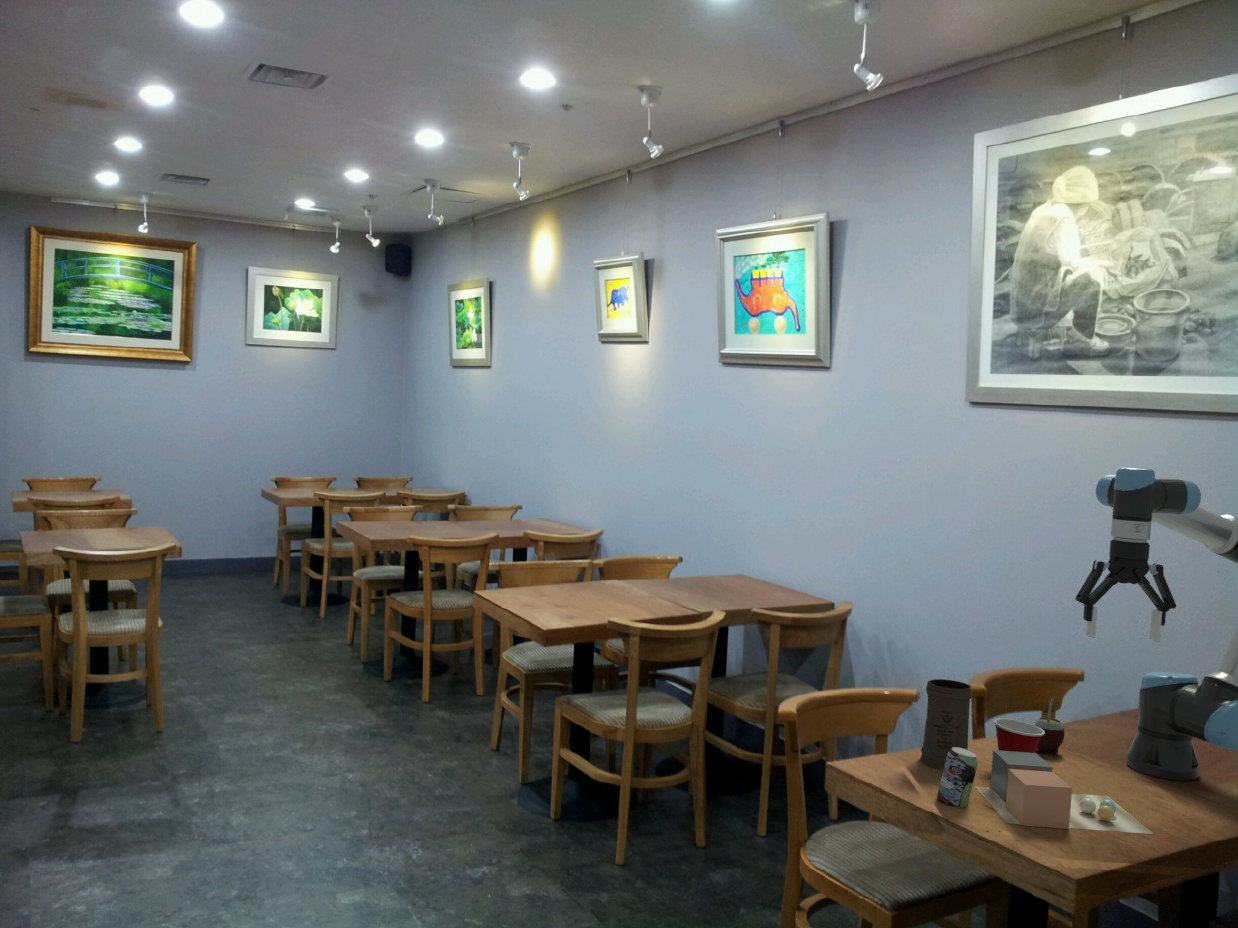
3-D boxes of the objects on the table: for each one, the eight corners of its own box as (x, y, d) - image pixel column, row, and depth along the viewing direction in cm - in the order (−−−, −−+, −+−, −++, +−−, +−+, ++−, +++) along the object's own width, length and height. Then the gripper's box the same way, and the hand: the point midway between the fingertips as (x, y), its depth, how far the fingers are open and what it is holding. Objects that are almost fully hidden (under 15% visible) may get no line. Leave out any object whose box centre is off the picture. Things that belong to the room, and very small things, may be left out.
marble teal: (1111, 812, 203) (1112, 797, 203) (1118, 817, 200) (1119, 803, 200) (1096, 810, 203) (1097, 796, 203) (1103, 816, 200) (1104, 801, 200)
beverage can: (932, 800, 207) (937, 743, 206) (968, 802, 207) (972, 745, 206) (941, 811, 201) (945, 753, 200) (978, 814, 200) (982, 755, 200)
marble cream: (1091, 810, 203) (1092, 796, 203) (1098, 816, 200) (1099, 801, 200) (1076, 809, 203) (1077, 795, 203) (1082, 815, 200) (1084, 800, 200)
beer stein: (972, 779, 221) (978, 689, 222) (922, 773, 223) (928, 684, 224) (961, 762, 236) (966, 677, 237) (914, 756, 238) (919, 672, 239)
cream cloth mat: (1106, 801, 212) (1107, 795, 212) (1153, 839, 192) (1154, 833, 192) (974, 791, 213) (974, 786, 213) (1007, 829, 193) (1007, 823, 193)
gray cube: (1032, 789, 213) (1035, 752, 213) (1049, 805, 204) (1052, 767, 204) (990, 786, 214) (993, 749, 213) (1005, 802, 205) (1008, 763, 204)
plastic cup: (1046, 788, 219) (1050, 734, 218) (994, 781, 221) (998, 728, 220) (1035, 772, 229) (1039, 720, 229) (986, 766, 231) (990, 715, 231)
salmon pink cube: (1050, 810, 201) (1053, 771, 201) (1068, 828, 192) (1072, 787, 192) (1005, 807, 202) (1008, 768, 202) (1021, 825, 193) (1024, 784, 193)
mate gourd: (1047, 746, 249) (1052, 687, 249) (1072, 757, 242) (1076, 696, 241) (1024, 748, 247) (1028, 688, 246) (1048, 759, 239) (1052, 697, 239)
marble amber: (1109, 818, 199) (1110, 803, 199) (1116, 824, 196) (1117, 809, 196) (1094, 817, 199) (1095, 802, 199) (1101, 823, 196) (1102, 808, 196)
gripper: (1078, 538, 210) (1071, 638, 211) (1199, 545, 209) (1191, 645, 210) (1063, 534, 217) (1056, 631, 218) (1180, 541, 217) (1172, 638, 217)
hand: (1122, 638), depth 214 cm, fingers open, 13 cm apart
